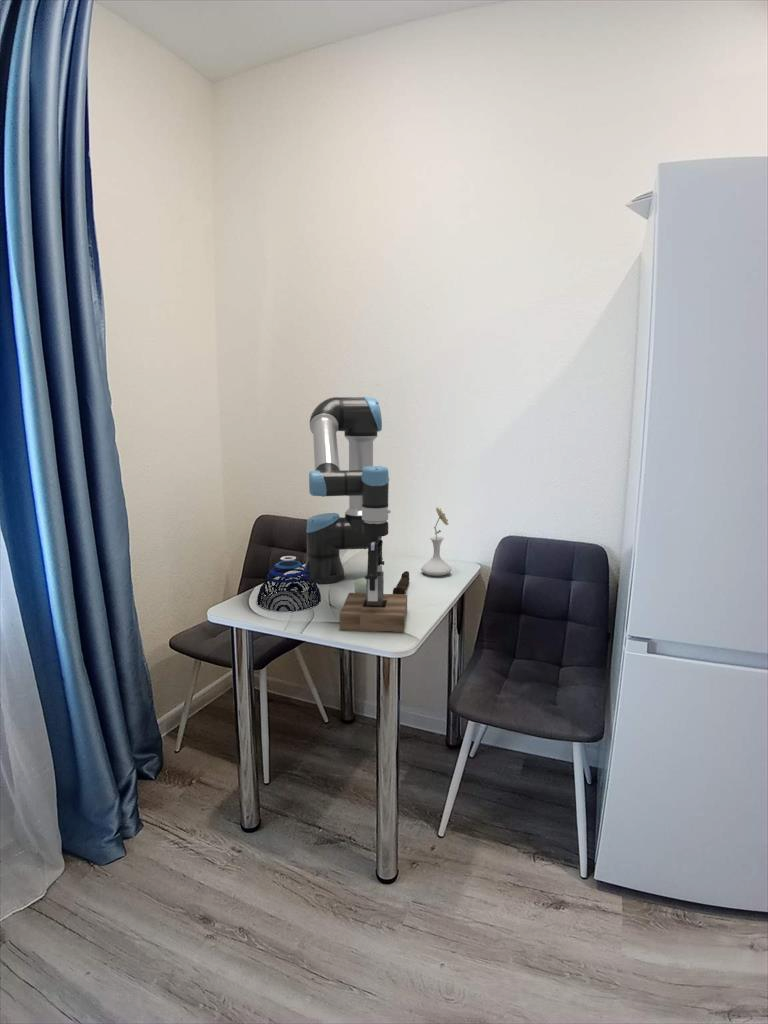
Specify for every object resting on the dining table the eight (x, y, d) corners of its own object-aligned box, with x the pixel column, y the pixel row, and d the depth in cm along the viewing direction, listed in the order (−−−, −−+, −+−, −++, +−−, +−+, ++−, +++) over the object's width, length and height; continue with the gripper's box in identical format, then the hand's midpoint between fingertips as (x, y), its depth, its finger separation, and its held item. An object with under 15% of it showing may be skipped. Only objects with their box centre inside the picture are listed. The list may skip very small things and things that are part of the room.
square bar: (368, 616, 170) (368, 571, 167) (383, 617, 170) (383, 571, 167) (366, 622, 166) (366, 575, 163) (381, 622, 165) (382, 576, 163)
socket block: (349, 608, 177) (349, 592, 176) (407, 610, 176) (407, 594, 175) (339, 630, 159) (339, 613, 159) (404, 632, 158) (404, 615, 157)
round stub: (356, 597, 187) (356, 577, 186) (381, 598, 186) (381, 578, 185) (353, 606, 179) (353, 584, 178) (378, 607, 178) (378, 585, 177)
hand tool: (404, 599, 186) (404, 585, 185) (392, 598, 187) (392, 584, 186) (414, 582, 204) (415, 570, 204) (403, 582, 205) (404, 569, 204)
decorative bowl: (324, 591, 194) (324, 550, 191) (316, 612, 174) (315, 566, 171) (265, 591, 194) (264, 549, 191) (251, 611, 174) (249, 566, 172)
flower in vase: (450, 579, 208) (452, 511, 203) (419, 577, 210) (420, 510, 205) (452, 569, 220) (453, 505, 216) (422, 567, 222) (423, 504, 218)
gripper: (384, 530, 150) (384, 608, 154) (391, 513, 174) (391, 581, 178) (356, 529, 151) (356, 607, 154) (367, 513, 175) (367, 580, 178)
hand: (375, 593), depth 166 cm, fingers open, 12 cm apart
